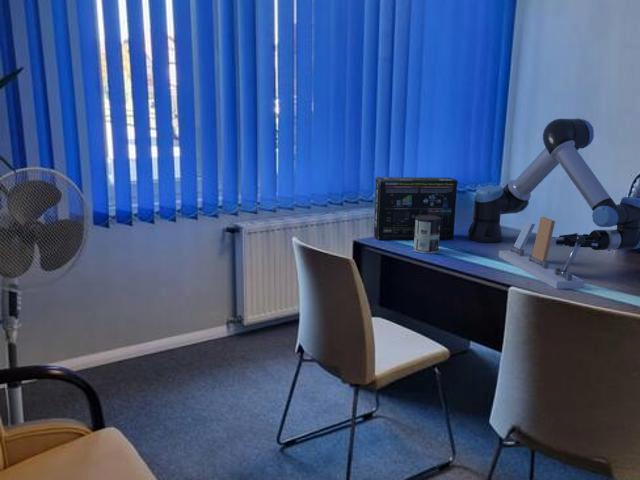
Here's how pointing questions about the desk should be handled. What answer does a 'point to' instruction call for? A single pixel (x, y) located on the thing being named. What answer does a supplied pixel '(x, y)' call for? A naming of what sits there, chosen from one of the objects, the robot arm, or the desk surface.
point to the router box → (413, 205)
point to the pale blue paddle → (523, 237)
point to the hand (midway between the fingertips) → (546, 241)
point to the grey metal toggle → (571, 256)
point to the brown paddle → (542, 240)
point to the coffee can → (427, 234)
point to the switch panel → (541, 270)
